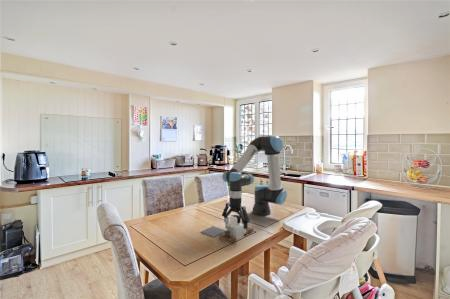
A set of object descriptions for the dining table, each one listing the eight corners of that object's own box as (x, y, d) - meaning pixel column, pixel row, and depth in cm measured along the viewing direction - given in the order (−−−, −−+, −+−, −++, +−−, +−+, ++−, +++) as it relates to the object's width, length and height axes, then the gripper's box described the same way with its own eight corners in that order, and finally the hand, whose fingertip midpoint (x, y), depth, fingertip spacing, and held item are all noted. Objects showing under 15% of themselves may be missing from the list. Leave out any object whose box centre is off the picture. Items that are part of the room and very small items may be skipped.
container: (234, 232, 139) (234, 213, 139) (243, 236, 134) (243, 215, 134) (226, 236, 133) (226, 216, 133) (236, 240, 128) (236, 219, 128)
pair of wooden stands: (240, 227, 147) (240, 215, 146) (253, 231, 140) (253, 219, 140) (218, 239, 129) (218, 225, 129) (231, 244, 123) (231, 230, 122)
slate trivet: (213, 226, 148) (213, 226, 148) (226, 231, 141) (226, 230, 141) (200, 232, 139) (200, 231, 139) (214, 237, 132) (214, 236, 132)
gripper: (216, 195, 138) (216, 227, 138) (248, 201, 122) (248, 238, 123) (224, 192, 143) (223, 223, 144) (255, 199, 128) (255, 234, 128)
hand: (235, 230), depth 133 cm, fingers open, 13 cm apart
